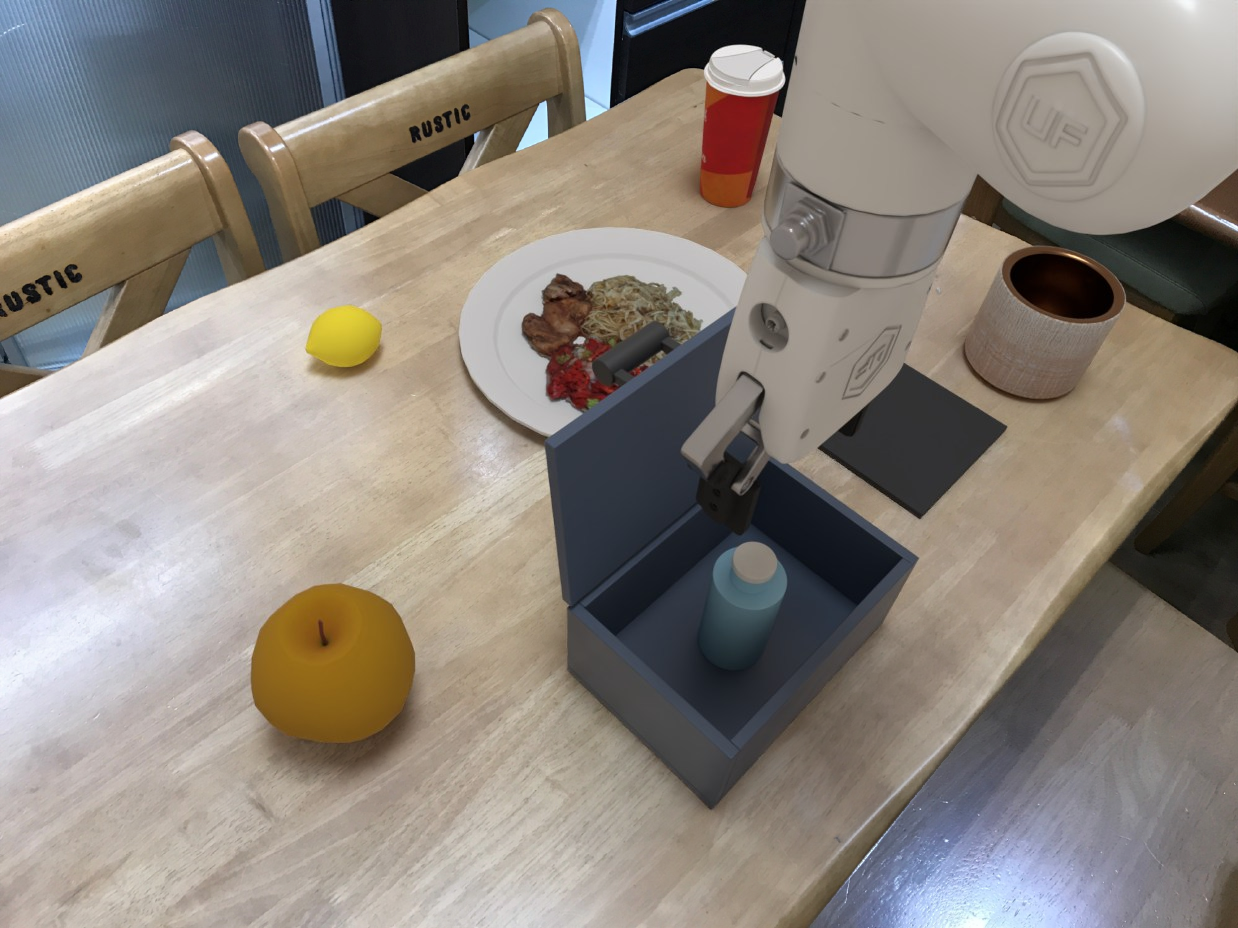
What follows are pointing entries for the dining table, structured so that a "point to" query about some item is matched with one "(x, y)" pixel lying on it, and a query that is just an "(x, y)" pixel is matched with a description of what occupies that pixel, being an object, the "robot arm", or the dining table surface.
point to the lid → (633, 451)
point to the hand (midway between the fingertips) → (778, 466)
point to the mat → (915, 440)
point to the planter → (1043, 321)
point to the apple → (332, 665)
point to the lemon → (344, 336)
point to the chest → (671, 615)
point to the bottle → (741, 605)
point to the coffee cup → (737, 121)
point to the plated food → (583, 314)
